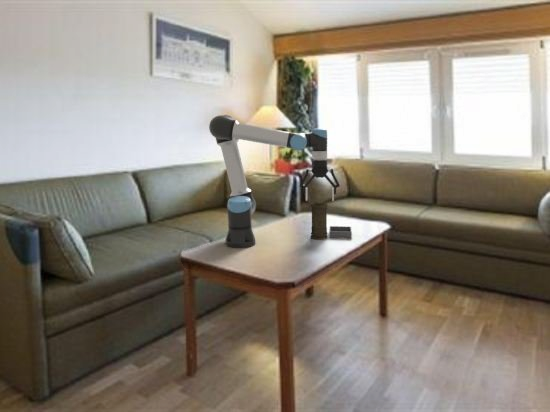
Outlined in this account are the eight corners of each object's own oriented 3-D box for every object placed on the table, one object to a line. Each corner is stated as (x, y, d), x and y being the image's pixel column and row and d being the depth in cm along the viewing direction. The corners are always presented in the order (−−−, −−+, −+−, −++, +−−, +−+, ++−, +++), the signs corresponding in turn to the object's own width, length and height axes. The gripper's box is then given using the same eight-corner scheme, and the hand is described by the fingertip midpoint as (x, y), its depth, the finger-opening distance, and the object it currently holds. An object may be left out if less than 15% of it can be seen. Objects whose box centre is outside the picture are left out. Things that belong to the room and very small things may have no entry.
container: (327, 240, 237) (327, 206, 234) (309, 239, 239) (309, 205, 236) (328, 236, 246) (328, 202, 242) (311, 235, 248) (311, 202, 244)
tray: (329, 237, 242) (329, 231, 241) (329, 232, 253) (329, 226, 253) (351, 238, 240) (351, 231, 240) (350, 232, 252) (351, 226, 251)
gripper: (294, 160, 233) (295, 201, 237) (344, 159, 229) (344, 201, 233) (295, 158, 240) (296, 198, 244) (344, 158, 236) (344, 199, 241)
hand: (319, 200), depth 239 cm, fingers open, 13 cm apart
